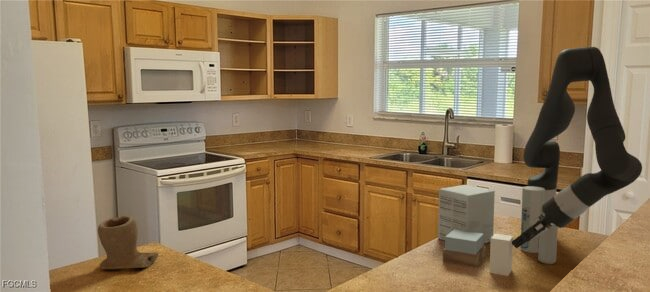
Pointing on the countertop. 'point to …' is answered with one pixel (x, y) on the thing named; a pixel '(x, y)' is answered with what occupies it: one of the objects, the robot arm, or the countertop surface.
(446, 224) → the supplement box
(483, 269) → the countertop surface
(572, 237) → the countertop surface
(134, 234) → the stone cup
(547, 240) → the beverage can
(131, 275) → the countertop surface
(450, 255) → the walnut base block
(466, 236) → the slate-blue top block
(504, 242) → the cream block
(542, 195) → the spray can
